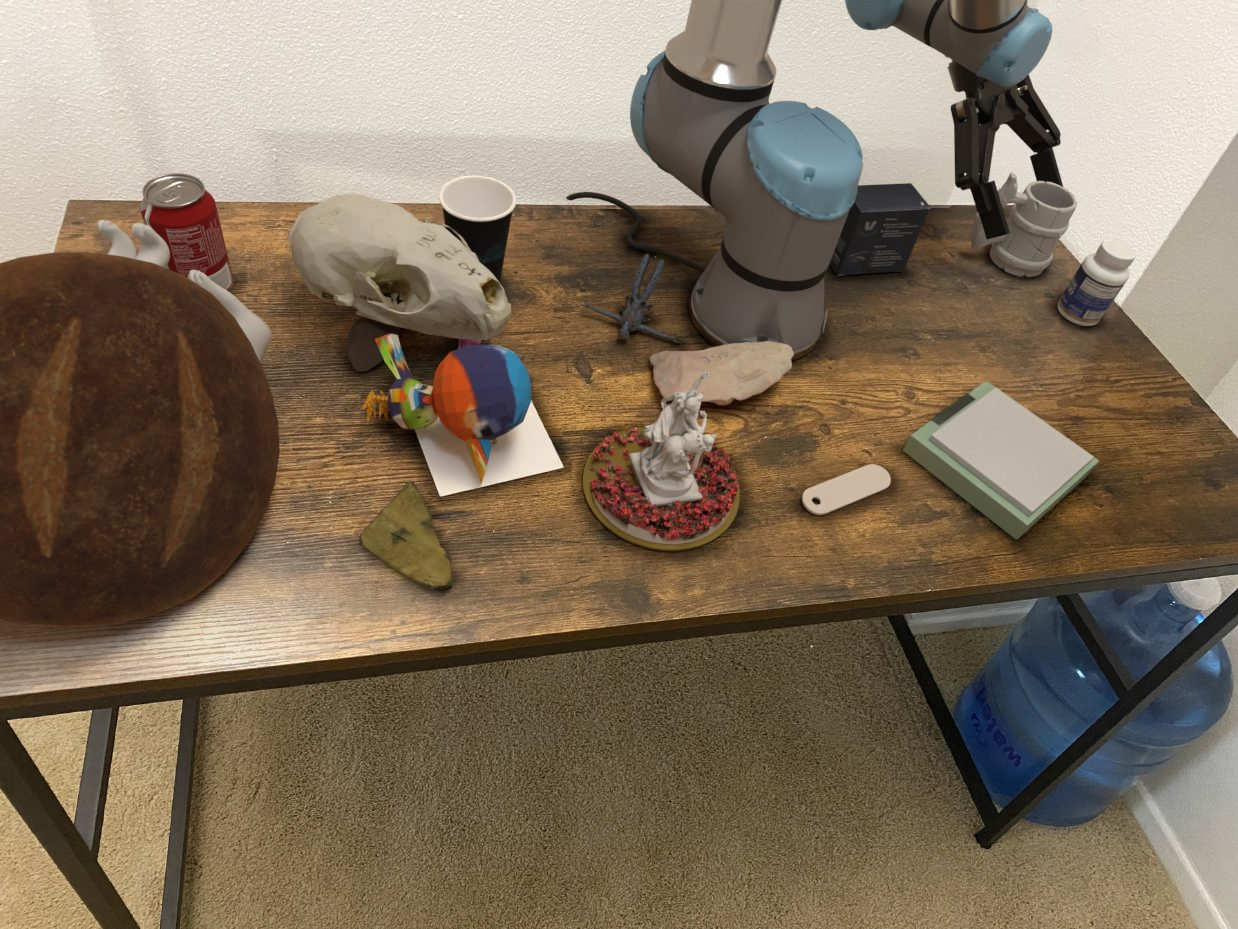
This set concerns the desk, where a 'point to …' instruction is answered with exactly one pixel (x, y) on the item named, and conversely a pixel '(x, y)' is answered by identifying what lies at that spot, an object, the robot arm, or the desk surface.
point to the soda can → (187, 226)
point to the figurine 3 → (664, 480)
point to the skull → (397, 268)
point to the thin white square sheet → (508, 459)
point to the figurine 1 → (368, 340)
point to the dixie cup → (480, 216)
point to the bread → (123, 439)
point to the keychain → (846, 489)
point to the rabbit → (159, 254)
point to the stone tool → (723, 370)
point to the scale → (1000, 458)
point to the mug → (1028, 226)
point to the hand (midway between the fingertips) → (1027, 218)
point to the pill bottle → (1097, 283)
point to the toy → (458, 395)
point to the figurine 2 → (637, 303)
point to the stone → (409, 541)
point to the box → (880, 229)
